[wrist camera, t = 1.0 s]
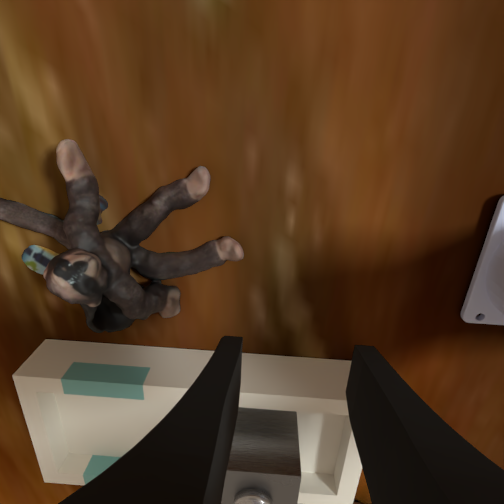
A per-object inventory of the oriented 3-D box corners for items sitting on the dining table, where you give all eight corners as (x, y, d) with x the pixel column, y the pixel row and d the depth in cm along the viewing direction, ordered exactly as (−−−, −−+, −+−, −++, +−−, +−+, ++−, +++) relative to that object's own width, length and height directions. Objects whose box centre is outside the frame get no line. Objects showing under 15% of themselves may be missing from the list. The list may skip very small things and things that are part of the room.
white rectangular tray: (364, 361, 24) (378, 402, 21) (337, 485, 29) (345, 533, 26) (45, 338, 25) (11, 375, 21) (75, 463, 30) (52, 507, 27)
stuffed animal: (260, 307, 22) (53, 420, 17) (197, 263, 30) (46, 332, 25) (207, 103, 17) (-101, 181, 12) (150, 118, 25) (-48, 167, 20)
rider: (296, 408, 23) (302, 487, 19) (289, 459, 25) (293, 542, 21) (220, 403, 23) (207, 480, 19) (219, 454, 25) (207, 535, 21)
